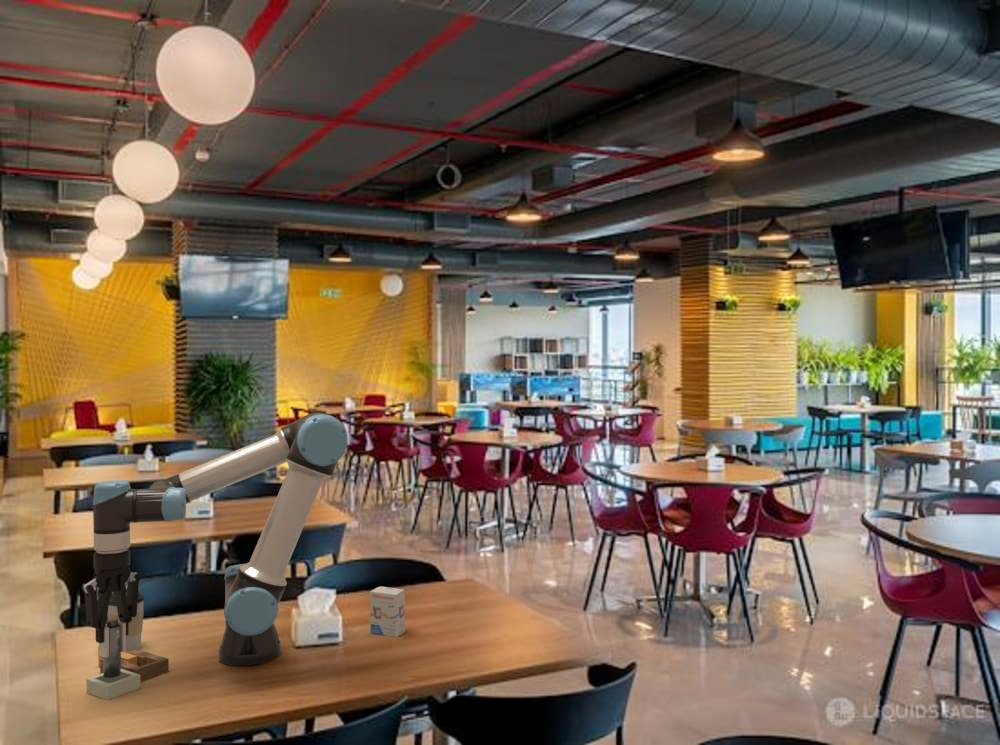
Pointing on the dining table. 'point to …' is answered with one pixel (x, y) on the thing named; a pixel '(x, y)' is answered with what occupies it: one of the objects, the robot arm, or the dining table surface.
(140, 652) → the socket block
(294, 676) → the dining table surface
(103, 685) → the square frame
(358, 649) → the dining table surface
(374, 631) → the ink box
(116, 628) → the dark grey cylinder
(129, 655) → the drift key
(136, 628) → the coffee cup
